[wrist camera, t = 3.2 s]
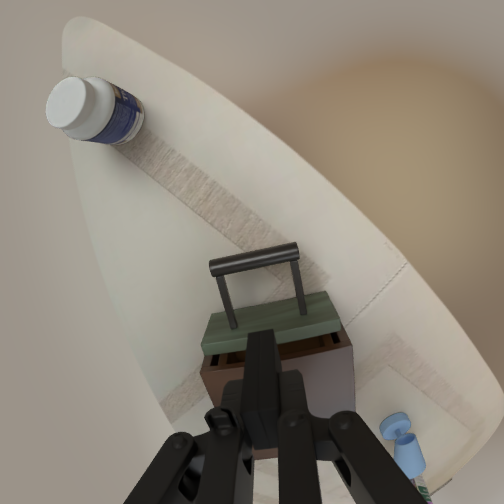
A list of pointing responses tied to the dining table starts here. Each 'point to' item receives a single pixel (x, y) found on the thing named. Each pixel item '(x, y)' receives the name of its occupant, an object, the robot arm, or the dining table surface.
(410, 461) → the spotlight
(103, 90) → the pill bottle
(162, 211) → the dining table surface
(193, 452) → the robot arm
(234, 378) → the cabinet
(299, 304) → the drawer
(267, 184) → the dining table surface
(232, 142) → the dining table surface
